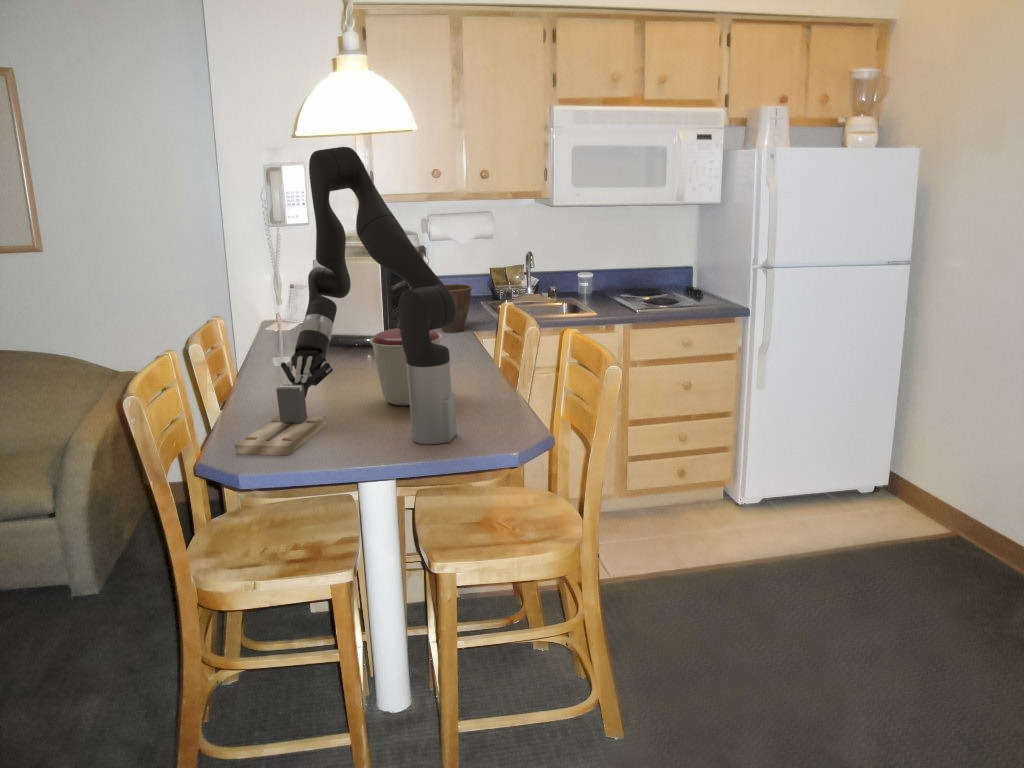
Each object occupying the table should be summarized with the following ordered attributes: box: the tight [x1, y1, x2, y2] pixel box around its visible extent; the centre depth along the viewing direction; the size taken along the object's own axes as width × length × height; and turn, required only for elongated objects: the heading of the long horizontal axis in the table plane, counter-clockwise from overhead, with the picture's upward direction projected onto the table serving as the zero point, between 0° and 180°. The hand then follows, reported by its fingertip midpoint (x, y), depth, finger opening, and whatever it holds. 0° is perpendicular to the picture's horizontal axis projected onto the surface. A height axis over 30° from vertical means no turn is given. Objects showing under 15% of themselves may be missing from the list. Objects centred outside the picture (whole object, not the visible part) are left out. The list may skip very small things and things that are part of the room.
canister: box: [369, 321, 443, 407], centre depth 197 cm, size 18×18×21 cm
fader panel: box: [234, 415, 327, 456], centre depth 174 cm, size 12×20×2 cm, turn 170°
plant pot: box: [441, 283, 472, 334], centre depth 283 cm, size 15×15×16 cm
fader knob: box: [275, 384, 308, 423], centre depth 178 cm, size 5×4×8 cm
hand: (298, 399), depth 181 cm, fingers closed
